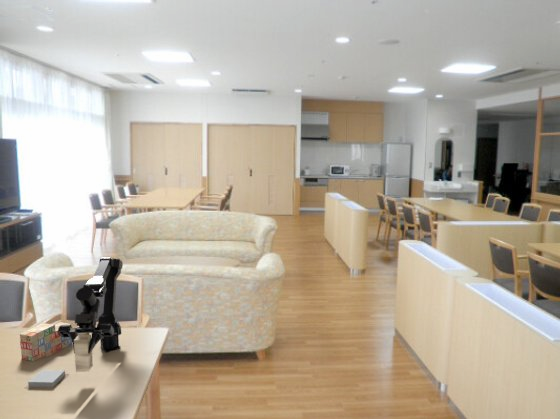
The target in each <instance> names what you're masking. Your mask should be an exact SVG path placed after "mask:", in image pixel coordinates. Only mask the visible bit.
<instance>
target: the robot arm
mask: <svg viewBox="0 0 560 419" xmlns="http://www.w3.org/2000/svg"><path fill="white" fill-rule="evenodd" d="M122 269H123V261H122V260H121V259H120V258H113V257H112V256H106V257H104V256H103V257H100V258H99V264H98V266H97V268H96V271H95V272H94V275H93V277H92V278H90V279H88V280H87V281H86V283H85V284H83V287H81V288H79V289H78V290H77V292H76V293H75V298H76V299H77V301H78V302H79V304H80V305H81V306H82V311H81V312H80V314H78V313H77V314H75V315H74V316H75V317H74V318H75V319H74V324H76V327H73V326H72V324H71V325H61V326H60V327H59V328H58V333H59V334H60V335H61V337H64V338H67V337H70V338H71V339H72V347H73V353H74V354H75V350H74V339H75V338H76V337H77V336H78V333H89V334H91V341H90V345H89V350H88V353H90V352H91V351H92V352H93V350H94V348H95V347H96V345H97V344H98V343H99V342H100V349H102V350H103V351H104V352H105V353H108V352H111V351H115V350H119V349H121V346H120V343H119V342H120V341H119V340H120V339H119V336H120V335H122V326H121V325H120V323H119V317H117V315H116V313H115V312H116V311H115V310H116V295H117V294H116V293H117V279H118V278H119V276H120V275H121V274H122ZM103 297H104V298H103ZM98 298H103V311H102V313H101V315H99V310H100V307H101V301H100V299H98ZM98 315H99V316H98ZM97 321H98V322H97ZM77 326H79V328H77Z"/></svg>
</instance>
